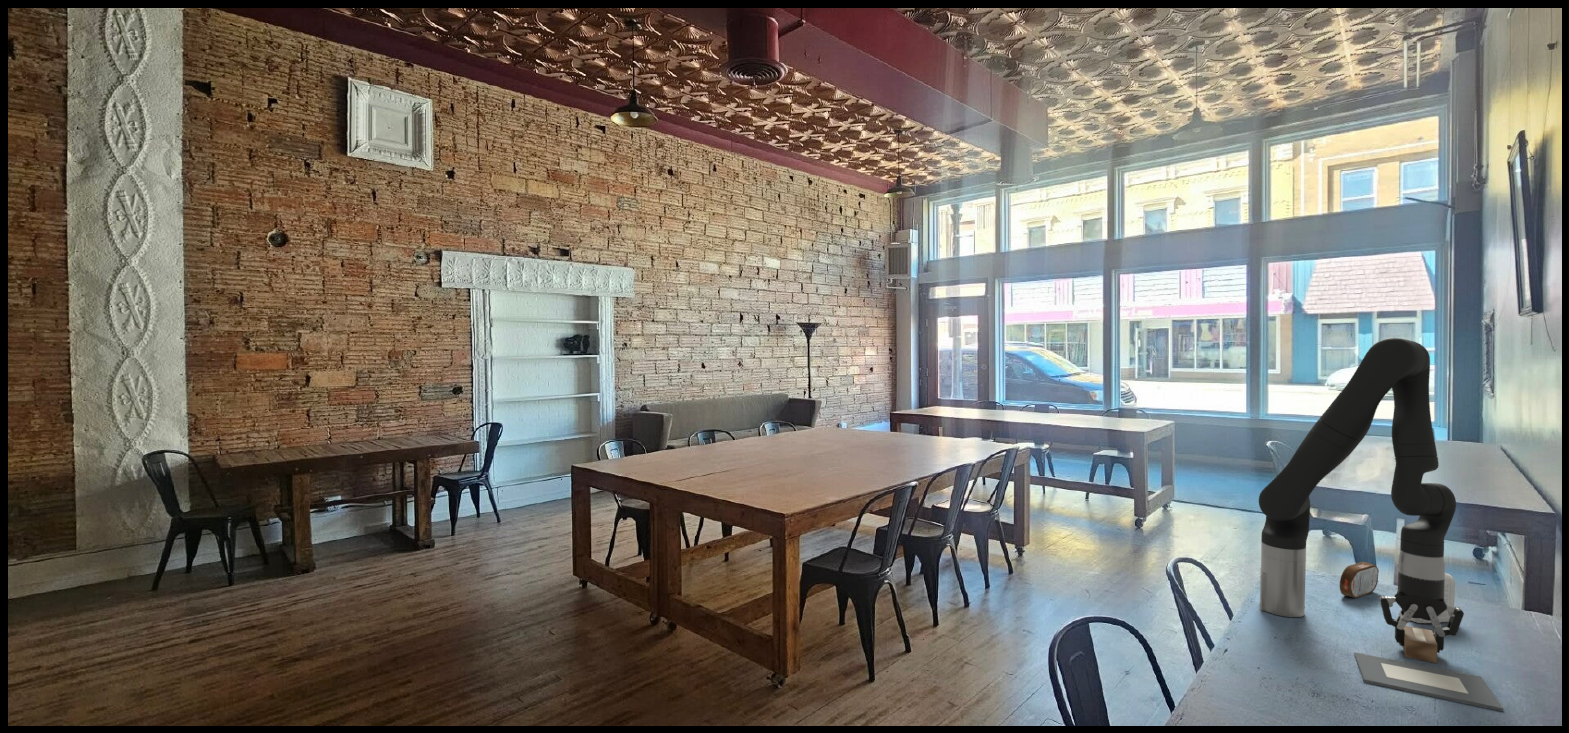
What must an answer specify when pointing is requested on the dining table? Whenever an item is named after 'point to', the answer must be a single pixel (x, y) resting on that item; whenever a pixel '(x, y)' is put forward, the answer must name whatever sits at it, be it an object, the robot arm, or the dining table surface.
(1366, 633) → the dining table surface
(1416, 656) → the card box
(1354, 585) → the tin
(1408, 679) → the mat
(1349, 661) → the dining table surface
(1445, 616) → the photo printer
